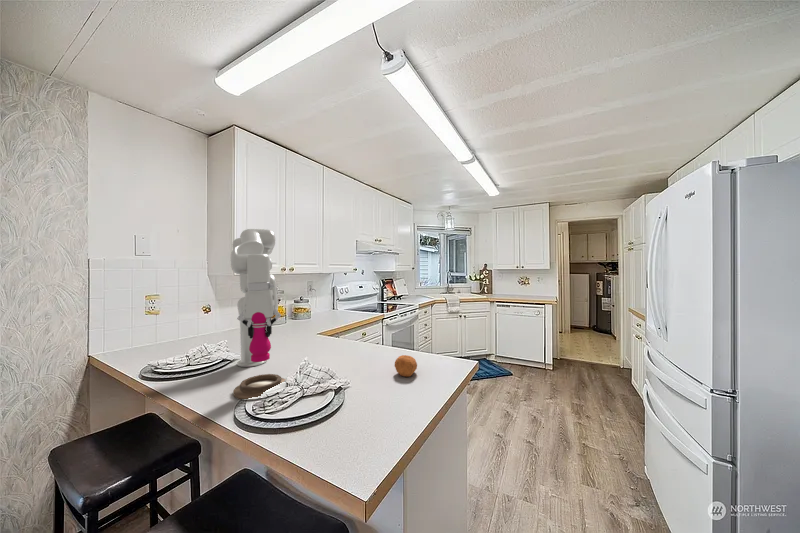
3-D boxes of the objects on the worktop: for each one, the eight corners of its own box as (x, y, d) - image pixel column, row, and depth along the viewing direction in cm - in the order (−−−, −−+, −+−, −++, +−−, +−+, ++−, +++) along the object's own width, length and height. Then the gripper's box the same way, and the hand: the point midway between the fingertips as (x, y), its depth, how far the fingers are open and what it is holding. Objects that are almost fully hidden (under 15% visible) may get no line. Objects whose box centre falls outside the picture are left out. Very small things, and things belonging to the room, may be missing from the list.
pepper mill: (262, 363, 106) (261, 306, 106) (244, 362, 107) (243, 306, 108) (275, 357, 113) (274, 303, 113) (258, 356, 115) (257, 303, 115)
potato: (390, 377, 120) (389, 358, 120) (400, 368, 130) (400, 350, 130) (412, 380, 116) (411, 360, 116) (420, 370, 127) (420, 352, 127)
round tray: (241, 382, 117) (241, 374, 117) (290, 377, 121) (290, 370, 121) (226, 403, 100) (225, 393, 100) (283, 396, 104) (283, 387, 104)
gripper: (284, 286, 116) (286, 333, 116) (236, 287, 112) (237, 336, 112) (282, 287, 109) (283, 337, 109) (230, 289, 105) (231, 341, 105)
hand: (260, 336), depth 110 cm, fingers closed on pepper mill, 5 cm apart
